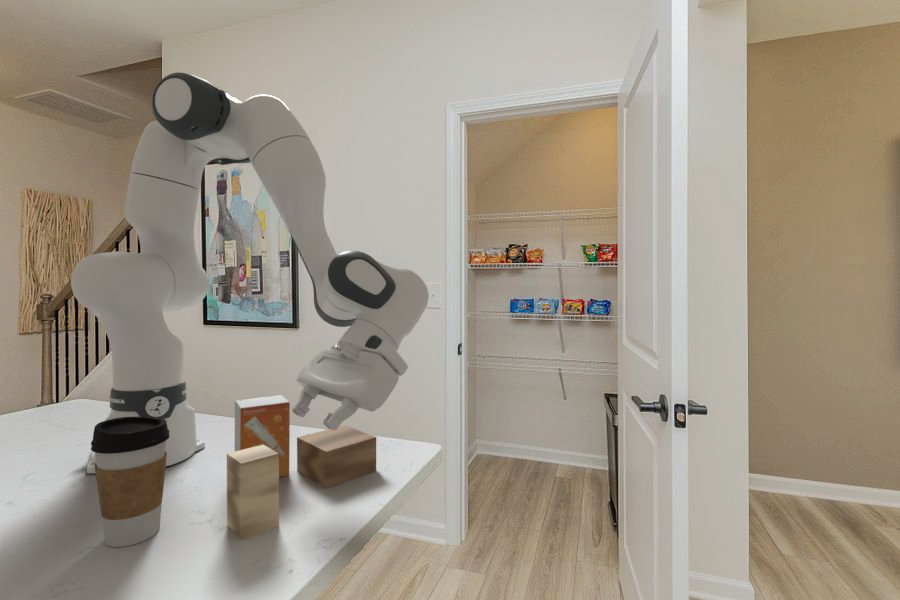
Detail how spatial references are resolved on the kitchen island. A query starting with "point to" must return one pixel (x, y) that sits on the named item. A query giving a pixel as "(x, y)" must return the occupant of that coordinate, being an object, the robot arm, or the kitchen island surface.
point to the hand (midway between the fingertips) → (311, 420)
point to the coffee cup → (130, 477)
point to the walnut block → (336, 455)
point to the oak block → (252, 490)
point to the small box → (264, 426)
